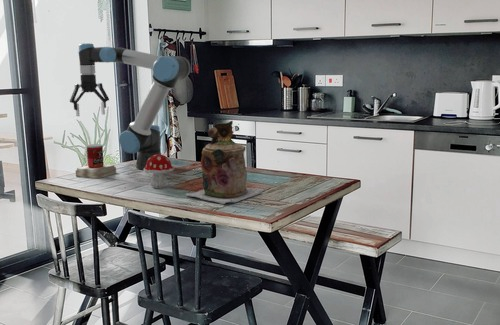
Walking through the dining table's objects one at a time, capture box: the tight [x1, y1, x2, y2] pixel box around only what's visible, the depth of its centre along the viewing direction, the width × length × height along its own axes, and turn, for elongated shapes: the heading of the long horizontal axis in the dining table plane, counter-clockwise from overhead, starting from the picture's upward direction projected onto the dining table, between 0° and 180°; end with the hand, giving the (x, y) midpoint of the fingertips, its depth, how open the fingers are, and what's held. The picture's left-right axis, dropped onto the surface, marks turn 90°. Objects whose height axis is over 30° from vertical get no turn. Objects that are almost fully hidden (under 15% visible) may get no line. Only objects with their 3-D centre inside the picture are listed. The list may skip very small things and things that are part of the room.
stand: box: [75, 163, 117, 179], centre depth 271 cm, size 14×14×4 cm
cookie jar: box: [185, 120, 264, 205], centre depth 223 cm, size 25×25×32 cm
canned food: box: [86, 143, 105, 168], centre depth 269 cm, size 8×8×11 cm
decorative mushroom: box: [143, 153, 175, 189], centre depth 242 cm, size 14×14×15 cm
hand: (90, 115), depth 279 cm, fingers open, 13 cm apart
